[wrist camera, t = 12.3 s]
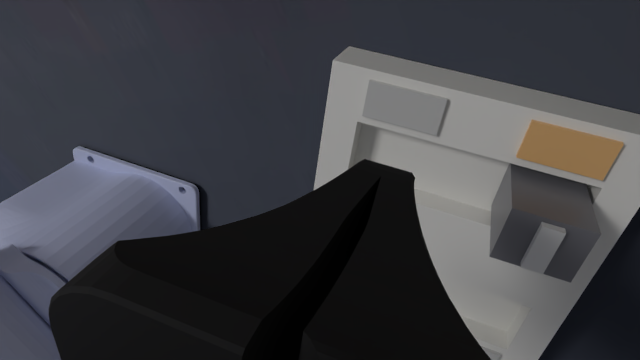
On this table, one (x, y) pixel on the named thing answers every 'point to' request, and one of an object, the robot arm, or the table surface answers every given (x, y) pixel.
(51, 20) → the table surface
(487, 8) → the table surface
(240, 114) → the table surface
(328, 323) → the robot arm
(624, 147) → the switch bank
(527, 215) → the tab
